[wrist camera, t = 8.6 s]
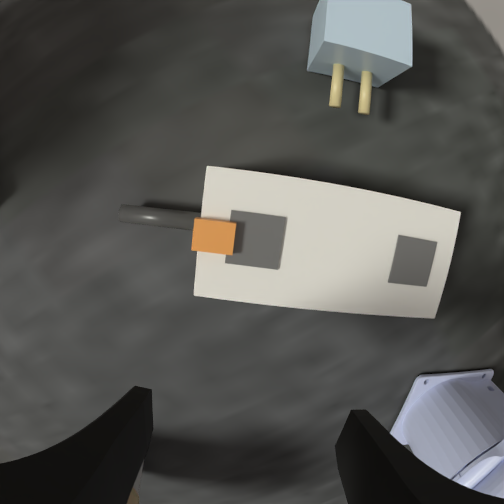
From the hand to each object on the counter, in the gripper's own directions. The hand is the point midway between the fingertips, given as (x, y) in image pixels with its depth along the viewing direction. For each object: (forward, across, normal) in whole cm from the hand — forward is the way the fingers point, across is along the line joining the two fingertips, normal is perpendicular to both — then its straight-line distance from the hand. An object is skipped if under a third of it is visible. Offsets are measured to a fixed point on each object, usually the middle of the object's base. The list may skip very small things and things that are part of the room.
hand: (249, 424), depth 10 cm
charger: (+10, -3, -17) cm, 20 cm away
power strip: (+10, -1, -5) cm, 11 cm away
